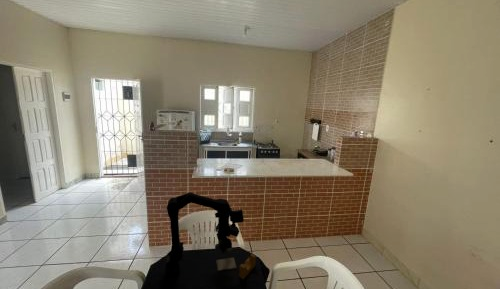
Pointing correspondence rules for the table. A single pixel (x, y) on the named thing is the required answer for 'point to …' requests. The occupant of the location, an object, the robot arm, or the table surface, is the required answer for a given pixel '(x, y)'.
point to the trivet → (226, 264)
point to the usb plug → (218, 250)
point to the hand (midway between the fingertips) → (222, 250)
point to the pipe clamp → (247, 266)
